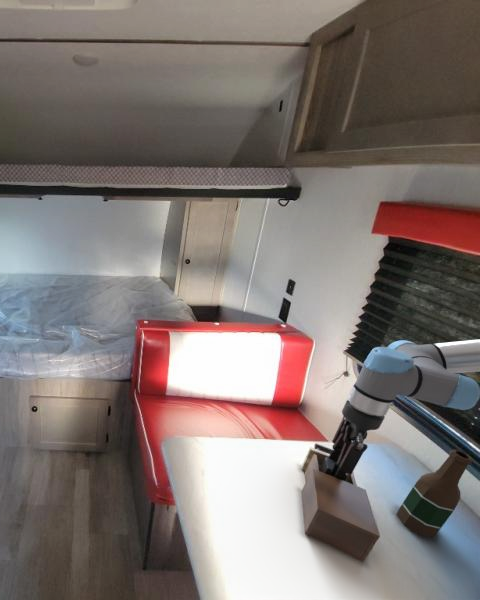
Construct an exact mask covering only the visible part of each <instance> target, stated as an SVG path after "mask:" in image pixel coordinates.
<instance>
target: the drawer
mask: <svg viewBox="0 0 480 600" xmlns="http://www.w3.org/2000/svg"><path fill="white" fill-rule="evenodd" d="M313 447H314V448H313ZM313 447H309V450H308V451H307V454H306V455H305V458H304V460H303V462H302V465H301V470H302V471H304V479H305V482H306V481H307V478H308V476H309V474H310V472H311V470H312V468H313V469H316V470H318V471H320V467H321V465H322V463H323V461H324V459H325V457H327V458H328V457H329V455H330V453H331V451H332V450H333V448H329V447H327V446H325V445H321V444H319V443H315V444H314V446H313ZM347 475H348V476H347V478H346V480H345V482H348V483H350V484H353V485H355V486H358V484H357V481H356V478H355V473H354V471H353V472H352V474H349V473H347Z"/></svg>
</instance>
